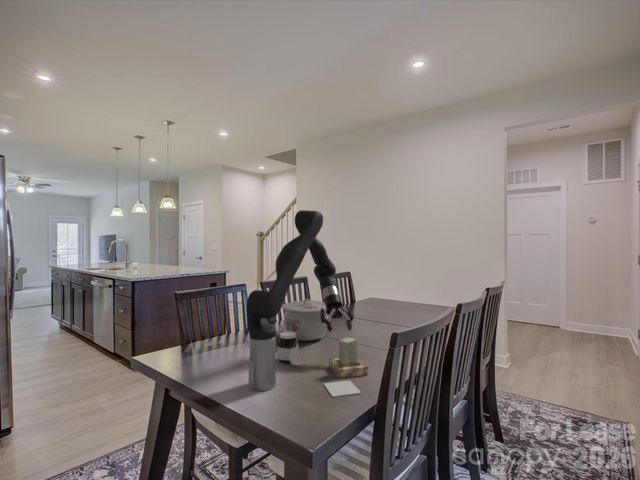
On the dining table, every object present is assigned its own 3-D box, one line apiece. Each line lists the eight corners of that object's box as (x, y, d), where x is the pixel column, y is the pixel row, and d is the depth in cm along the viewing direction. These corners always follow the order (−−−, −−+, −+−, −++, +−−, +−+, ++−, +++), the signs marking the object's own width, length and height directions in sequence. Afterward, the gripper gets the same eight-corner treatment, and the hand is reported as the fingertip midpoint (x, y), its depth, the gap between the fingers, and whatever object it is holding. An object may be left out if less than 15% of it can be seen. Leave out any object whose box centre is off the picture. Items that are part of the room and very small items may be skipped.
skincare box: (348, 366, 134) (349, 336, 134) (357, 369, 131) (357, 339, 131) (338, 370, 130) (338, 339, 130) (347, 374, 127) (347, 342, 127)
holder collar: (338, 377, 123) (338, 369, 123) (329, 366, 134) (329, 358, 134) (368, 374, 126) (368, 366, 126) (356, 363, 138) (356, 356, 138)
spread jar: (284, 355, 147) (284, 329, 147) (308, 358, 143) (308, 331, 143) (272, 365, 135) (272, 337, 135) (298, 368, 132) (298, 339, 132)
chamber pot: (323, 348, 157) (323, 304, 158) (271, 342, 166) (271, 301, 166) (339, 332, 184) (339, 295, 184) (293, 328, 193) (293, 293, 193)
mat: (332, 397, 108) (332, 396, 108) (323, 384, 117) (323, 383, 117) (360, 393, 110) (360, 392, 110) (350, 381, 120) (350, 380, 120)
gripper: (318, 293, 146) (326, 326, 135) (348, 292, 150) (358, 324, 138) (315, 303, 151) (322, 335, 140) (344, 302, 155) (353, 333, 144)
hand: (340, 330), depth 139 cm, fingers open, 8 cm apart
